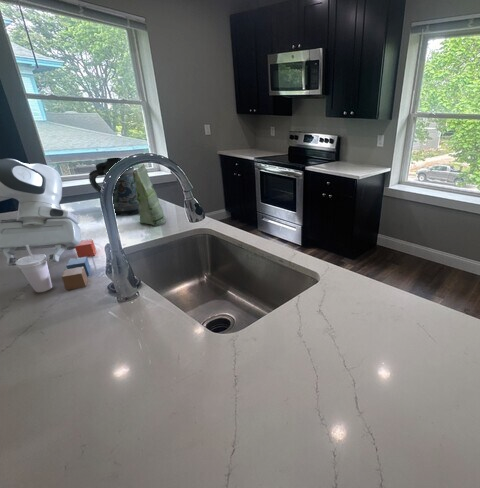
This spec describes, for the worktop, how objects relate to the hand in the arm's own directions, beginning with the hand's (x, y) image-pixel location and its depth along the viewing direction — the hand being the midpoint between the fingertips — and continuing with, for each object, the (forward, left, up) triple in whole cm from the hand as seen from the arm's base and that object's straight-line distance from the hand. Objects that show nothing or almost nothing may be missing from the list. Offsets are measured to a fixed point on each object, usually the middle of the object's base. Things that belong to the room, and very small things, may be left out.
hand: (33, 263), depth 82 cm
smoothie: (0, 0, -9) cm, 9 cm away
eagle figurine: (+1, +31, -9) cm, 32 cm away
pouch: (+29, +44, -9) cm, 53 cm away
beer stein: (+19, +65, -9) cm, 68 cm away
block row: (+8, +9, -8) cm, 15 cm away
